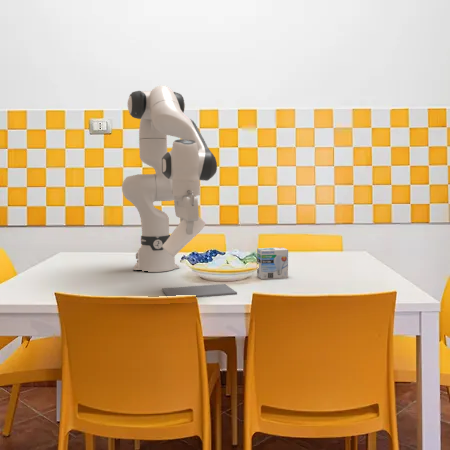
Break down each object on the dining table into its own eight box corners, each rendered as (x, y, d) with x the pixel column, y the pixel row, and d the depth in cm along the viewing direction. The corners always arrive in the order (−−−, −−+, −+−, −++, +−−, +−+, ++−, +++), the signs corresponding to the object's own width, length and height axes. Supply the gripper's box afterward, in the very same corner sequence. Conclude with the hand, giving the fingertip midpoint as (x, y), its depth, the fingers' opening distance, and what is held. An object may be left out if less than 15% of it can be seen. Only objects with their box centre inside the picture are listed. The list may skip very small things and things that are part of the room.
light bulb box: (261, 279, 191) (260, 250, 190) (256, 276, 197) (256, 248, 196) (289, 278, 193) (288, 249, 192) (283, 274, 199) (283, 246, 198)
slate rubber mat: (162, 290, 175) (161, 288, 175) (225, 285, 181) (225, 283, 181) (169, 299, 161) (169, 297, 161) (236, 294, 167) (236, 292, 167)
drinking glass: (165, 250, 162) (197, 214, 164) (156, 242, 168) (187, 208, 170) (178, 261, 166) (209, 227, 168) (169, 254, 172) (199, 220, 174)
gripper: (203, 190, 158) (203, 236, 159) (189, 189, 178) (190, 229, 179) (182, 191, 156) (183, 237, 158) (170, 189, 176) (171, 230, 177)
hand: (186, 233), depth 168 cm, fingers closed on drinking glass, 6 cm apart
